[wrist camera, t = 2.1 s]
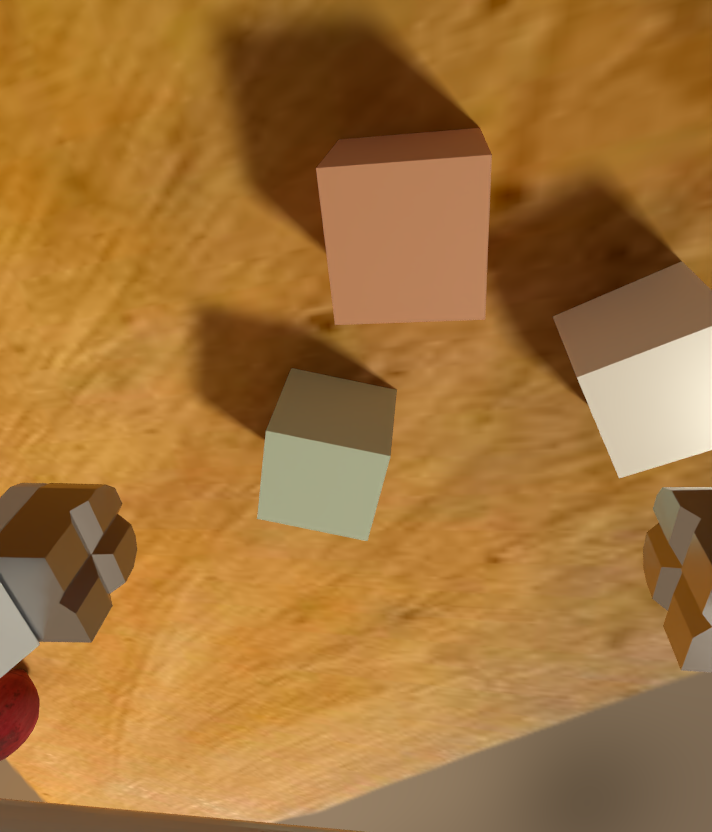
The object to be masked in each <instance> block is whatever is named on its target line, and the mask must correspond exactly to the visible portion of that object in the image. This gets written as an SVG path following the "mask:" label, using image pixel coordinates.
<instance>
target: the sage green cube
mask: <svg viewBox="0 0 712 832" xmlns="http://www.w3.org/2000/svg"><path fill="white" fill-rule="evenodd" d="M396 393H397V390H395V389H390V388H386V387H381V386H376V385H371V384H366V383H361V382H357V381H352V380H347V379H342V378H337V377H332V376H328V375H323V374H318V373H313V372H308V371H303V370H299V369H294V368H291V370H290V372H289V375H288V377H287V380H286V382H285V385H284V387H283V390H282V392H281V395H280V397H279V400H278V402H277V405H276V407H275V409H274V412H273V414H272V417H271V419H270V422H269V424H268V427H267V429H266V435H265V445H264V455H263V465H262V475H261V486H260V496H259V506H258V516H257V519H262V520H267V521H271V522H276V523H281V524H286V525H291V526H296V527H301V528H306V529H311V530H316V531H320V532H325V533H330V534H335V535H340V536H345V537H350V538H355V539H360V540H365V541H368V537H369V533H370V530H371V526H372V522H373V519H374V515H375V511H376V508H377V504H378V500H379V496H380V493H381V489H382V485H383V482H384V478H385V474H386V471H387V467H388V463H389V460H390V455H391V445H392V434H393V424H394V414H395V403H396Z"/></svg>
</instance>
